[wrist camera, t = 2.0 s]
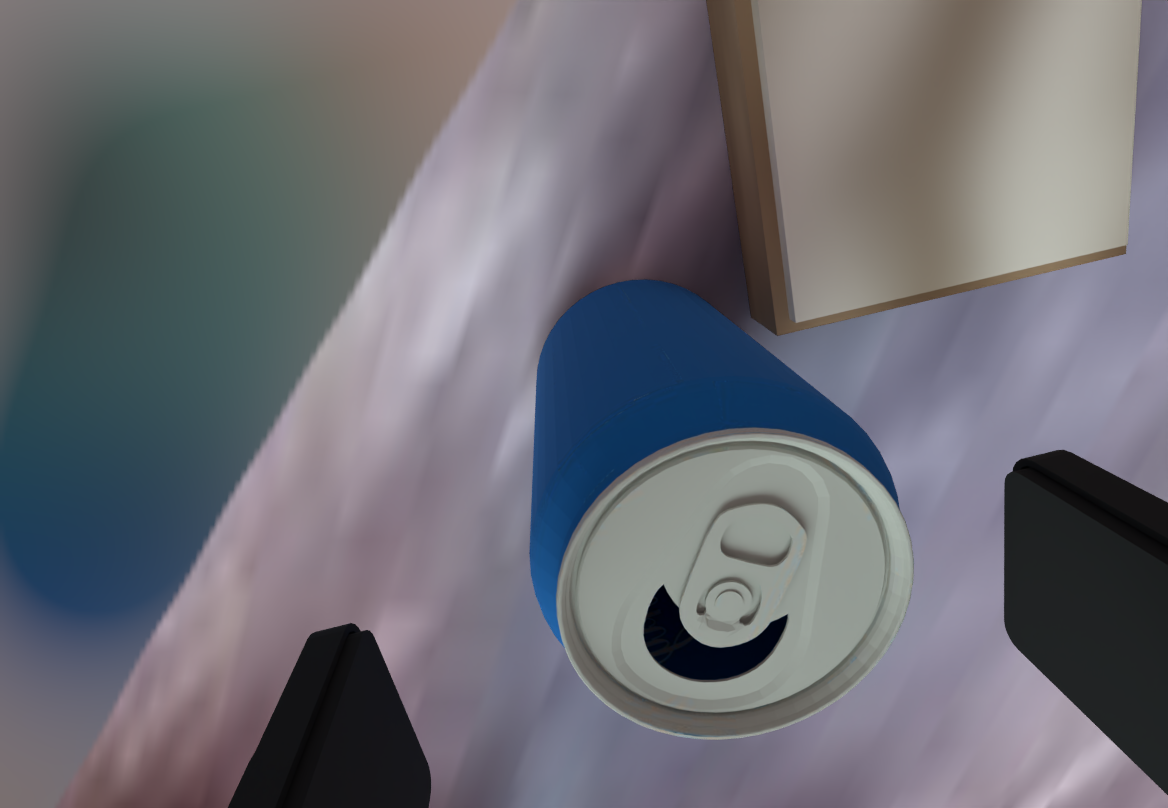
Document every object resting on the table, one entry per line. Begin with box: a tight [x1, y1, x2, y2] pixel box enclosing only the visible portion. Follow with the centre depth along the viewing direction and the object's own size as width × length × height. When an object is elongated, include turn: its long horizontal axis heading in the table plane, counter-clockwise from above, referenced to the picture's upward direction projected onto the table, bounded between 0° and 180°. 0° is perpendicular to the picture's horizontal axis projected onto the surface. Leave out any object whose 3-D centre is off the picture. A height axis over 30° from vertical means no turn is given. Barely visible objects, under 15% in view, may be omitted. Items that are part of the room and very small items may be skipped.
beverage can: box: [530, 279, 914, 740], centre depth 16 cm, size 6×6×12 cm
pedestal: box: [706, 0, 1142, 336], centre depth 18 cm, size 10×10×3 cm
